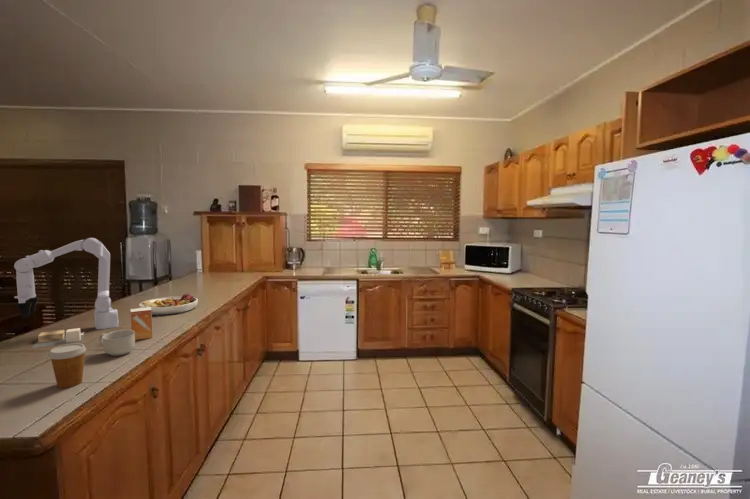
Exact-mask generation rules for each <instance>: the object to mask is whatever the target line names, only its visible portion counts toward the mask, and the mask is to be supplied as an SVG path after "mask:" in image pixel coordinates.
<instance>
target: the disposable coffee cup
mask: <svg viewBox="0 0 750 499" xmlns="http://www.w3.org/2000/svg"><path fill="white" fill-rule="evenodd" d="M86 352H87V348H86V347H85V344H83V343H69V344H62V345H58V346H56V347H53V348H52V349H50V351H49V354H48V357H49V359H50V360H51V364H52V369H53V372H54V373H53V374H54V377H55V381H56V386H57V388H59V389H65V388H66V389H67V388H71V387H75V386H77V385H80V384H81V383H83V375H84V374H83V373H84V365H85V353H86Z"/></svg>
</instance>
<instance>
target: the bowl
mask: <svg viewBox="0 0 750 499" xmlns="http://www.w3.org/2000/svg"><path fill="white" fill-rule="evenodd" d="M198 302H199V298H197V297H195V296H193V295H191V294H190V293H189V292H185V293H184V294H182V295H181V296H180V295H179V296H176V295H175V296H166V297H165V296H163V297H158V298H151V299H148V300H144V301H142V302H139V304H138V305H139V308H147V307H151V310H152V316H165V315H175V314H181V313H185V312H189V311H191V310H193V309H195V308H196V307H197V305H198Z"/></svg>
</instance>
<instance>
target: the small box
mask: <svg viewBox="0 0 750 499" xmlns="http://www.w3.org/2000/svg"><path fill="white" fill-rule="evenodd" d="M129 311H130V314H129V315H130V330H133V331H134V332H135V341H139V340H145V339H147V340H148V339H153V315H152V310H151V307H147V308H140V307H138V308H130V310H129Z"/></svg>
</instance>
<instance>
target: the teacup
mask: <svg viewBox="0 0 750 499" xmlns="http://www.w3.org/2000/svg"><path fill="white" fill-rule="evenodd" d="M98 341H99V343H100V344H101V345H103V346H102V347H103V351H104V352H105V353H106V354H107V355H109V356H112V357H119V356H124V355H127V354H128V353H130V352H131V351H132V350H133V349H134V348H135V347H136V346H135V344H136V340H135V332H134V331H133V330H131V329H119V330H114V331H111V332H108V333H101V334H100V335H99V336H98Z"/></svg>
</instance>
